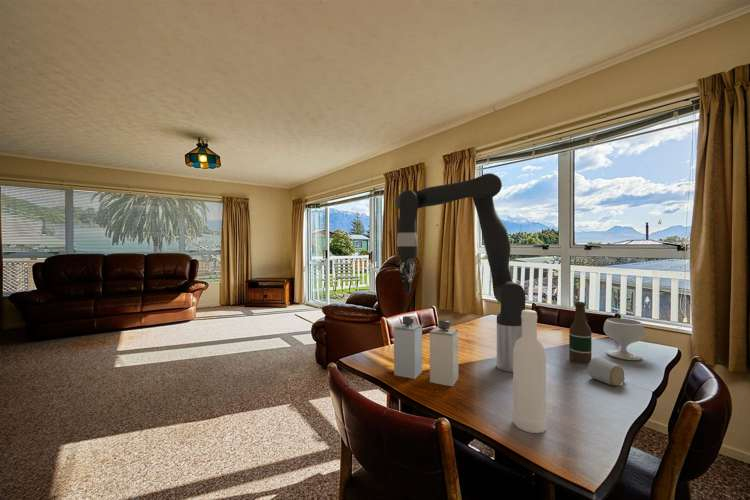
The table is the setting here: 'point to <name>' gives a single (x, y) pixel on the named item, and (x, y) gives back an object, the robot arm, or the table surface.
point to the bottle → (529, 377)
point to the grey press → (408, 350)
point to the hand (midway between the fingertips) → (407, 291)
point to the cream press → (444, 356)
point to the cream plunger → (444, 324)
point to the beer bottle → (580, 337)
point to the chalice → (624, 336)
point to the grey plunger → (408, 320)
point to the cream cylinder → (606, 371)
